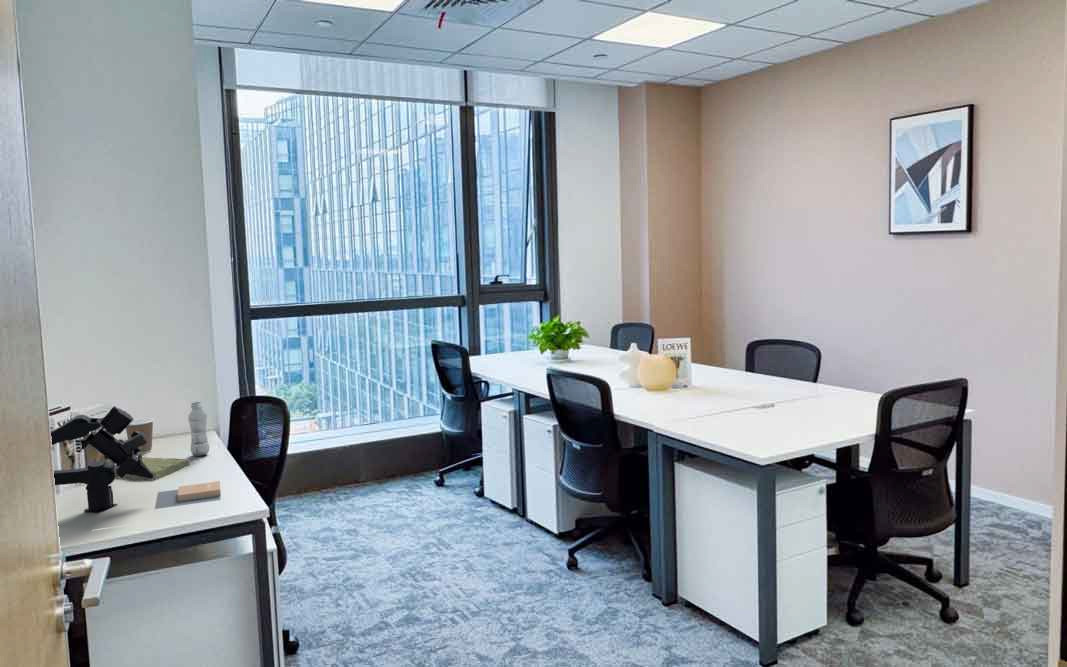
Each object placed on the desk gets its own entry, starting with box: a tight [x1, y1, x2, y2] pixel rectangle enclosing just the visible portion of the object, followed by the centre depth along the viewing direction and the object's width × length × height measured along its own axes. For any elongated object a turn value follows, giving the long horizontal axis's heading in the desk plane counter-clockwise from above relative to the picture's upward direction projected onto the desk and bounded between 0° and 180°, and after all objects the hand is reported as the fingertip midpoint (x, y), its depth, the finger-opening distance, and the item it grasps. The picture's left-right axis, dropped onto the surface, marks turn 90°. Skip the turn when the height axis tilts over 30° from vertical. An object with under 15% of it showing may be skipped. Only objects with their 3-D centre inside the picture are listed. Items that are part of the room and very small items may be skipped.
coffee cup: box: [125, 418, 154, 455], centre depth 302 cm, size 10×10×12 cm
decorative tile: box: [115, 456, 190, 481], centre depth 273 cm, size 19×20×4 cm
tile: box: [177, 481, 222, 502], centre depth 244 cm, size 2×10×12 cm
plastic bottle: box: [187, 401, 210, 457], centre depth 293 cm, size 6×7×20 cm
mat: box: [154, 489, 221, 510], centre depth 243 cm, size 18×18×1 cm
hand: (152, 477), depth 238 cm, fingers closed
